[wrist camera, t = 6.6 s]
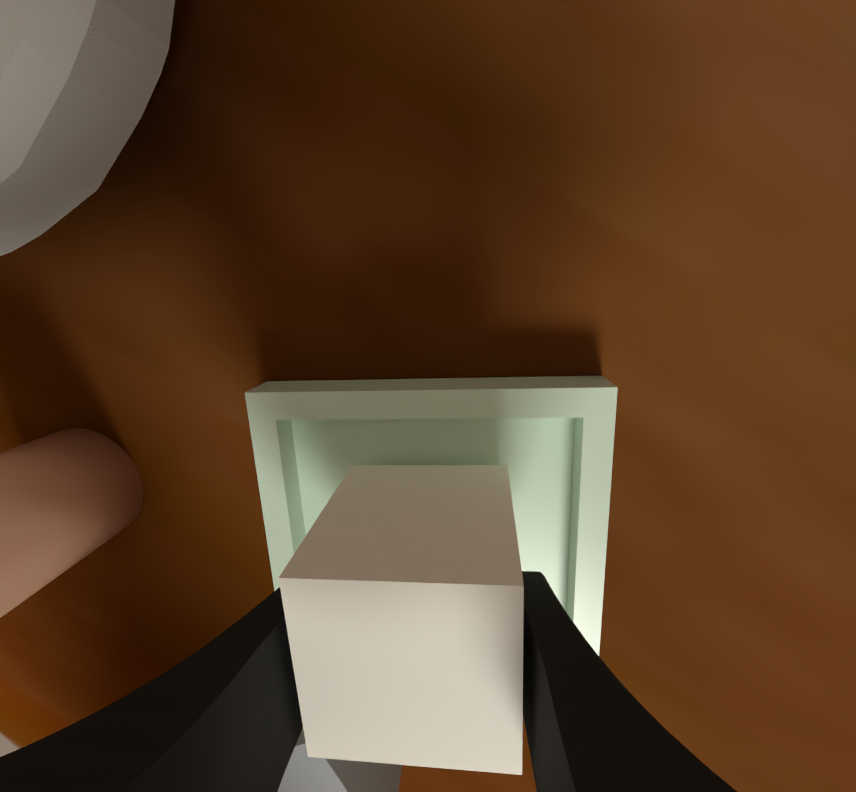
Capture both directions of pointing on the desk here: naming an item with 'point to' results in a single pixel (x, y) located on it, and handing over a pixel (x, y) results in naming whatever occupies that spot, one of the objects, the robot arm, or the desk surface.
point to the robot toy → (70, 100)
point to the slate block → (336, 774)
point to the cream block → (411, 620)
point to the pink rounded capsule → (60, 506)
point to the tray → (451, 460)
